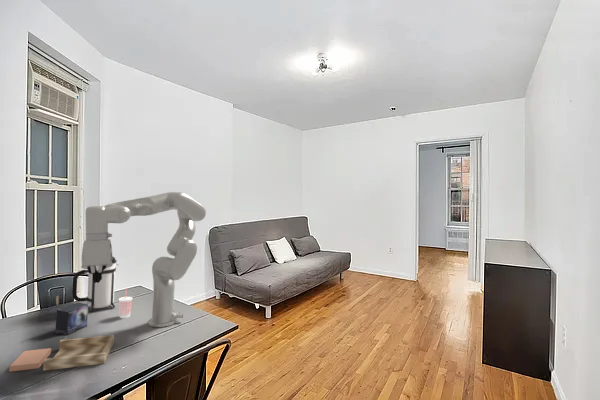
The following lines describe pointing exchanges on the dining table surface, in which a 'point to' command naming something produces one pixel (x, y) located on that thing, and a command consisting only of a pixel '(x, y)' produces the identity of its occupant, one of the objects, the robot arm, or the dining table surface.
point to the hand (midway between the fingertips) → (97, 281)
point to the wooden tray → (80, 352)
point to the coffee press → (98, 288)
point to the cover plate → (30, 359)
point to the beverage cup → (125, 306)
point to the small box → (71, 318)
